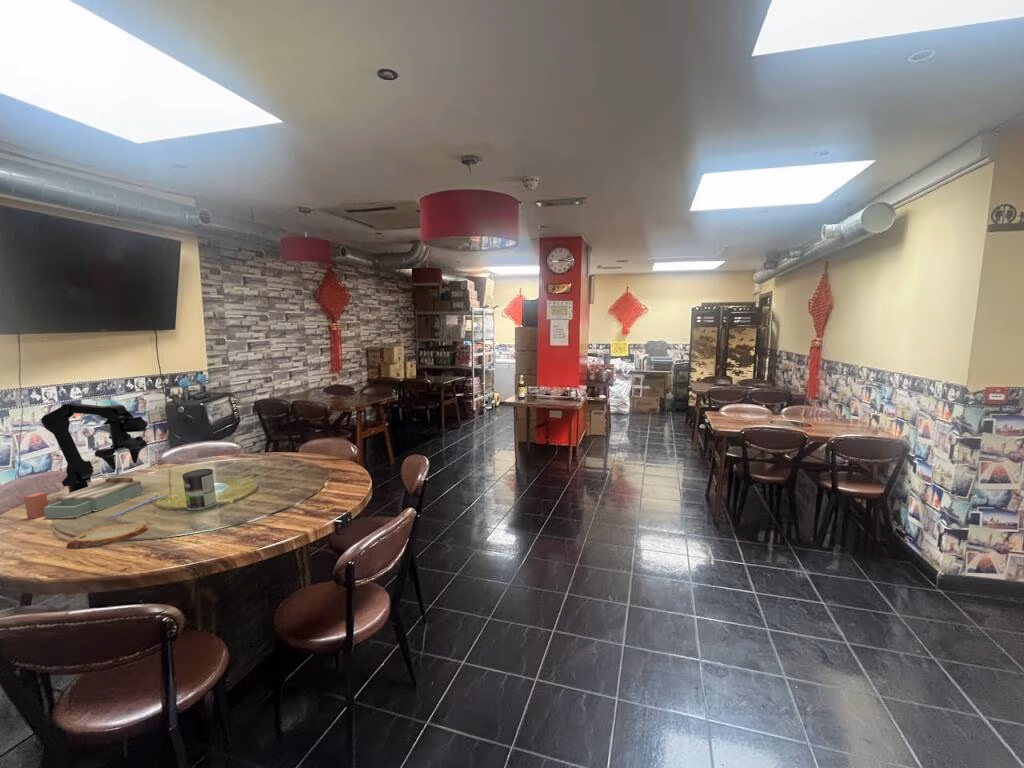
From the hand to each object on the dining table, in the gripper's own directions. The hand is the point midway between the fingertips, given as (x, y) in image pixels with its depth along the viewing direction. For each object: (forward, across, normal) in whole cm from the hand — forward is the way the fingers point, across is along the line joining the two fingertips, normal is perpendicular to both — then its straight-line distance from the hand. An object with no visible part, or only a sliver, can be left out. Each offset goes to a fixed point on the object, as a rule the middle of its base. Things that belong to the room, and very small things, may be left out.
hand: (124, 466), depth 203 cm
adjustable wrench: (+13, -16, -24) cm, 32 cm away
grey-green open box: (+12, -15, -2) cm, 20 cm away
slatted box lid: (+7, -12, -2) cm, 14 cm away
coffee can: (+13, -12, -53) cm, 56 cm away
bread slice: (+13, -42, -43) cm, 62 cm away
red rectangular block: (+12, -27, +10) cm, 32 cm away
